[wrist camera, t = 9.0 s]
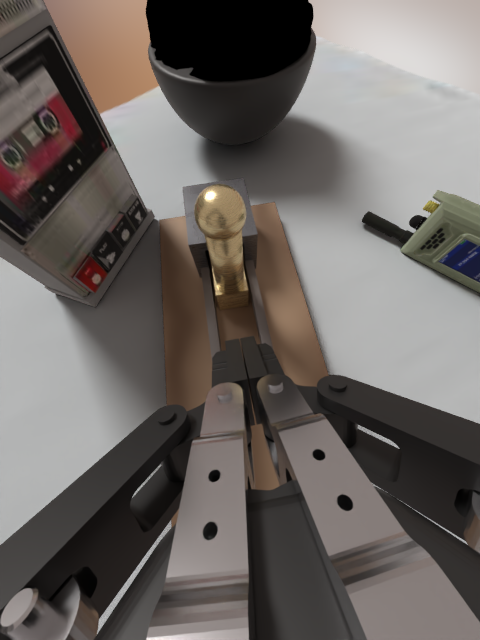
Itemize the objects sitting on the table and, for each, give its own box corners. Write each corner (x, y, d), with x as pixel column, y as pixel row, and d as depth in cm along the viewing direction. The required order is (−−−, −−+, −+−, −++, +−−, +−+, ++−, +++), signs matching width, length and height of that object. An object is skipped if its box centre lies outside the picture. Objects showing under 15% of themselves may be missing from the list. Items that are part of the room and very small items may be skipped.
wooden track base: (183, 599, 16) (167, 645, 13) (165, 232, 30) (154, 208, 26) (376, 560, 17) (407, 595, 14) (273, 215, 30) (276, 190, 27)
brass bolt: (219, 315, 23) (190, 216, 11) (209, 246, 26) (179, 117, 15) (250, 310, 23) (250, 207, 12) (236, 241, 26) (226, 111, 15)
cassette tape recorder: (98, 309, 26) (-1169, -607, 3) (54, 293, 27) (-1143, -470, 4) (157, 219, 31) (-123, -383, 8) (117, 208, 32) (-236, -350, 9)
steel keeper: (199, 277, 24) (188, 245, 20) (193, 226, 27) (182, 187, 23) (256, 268, 25) (257, 234, 20) (244, 218, 27) (243, 177, 23)
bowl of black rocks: (183, 190, 33) (108, -71, 15) (165, 111, 40) (101, -121, 23) (319, 160, 34) (392, -111, 16) (276, 90, 41) (296, -146, 24)
